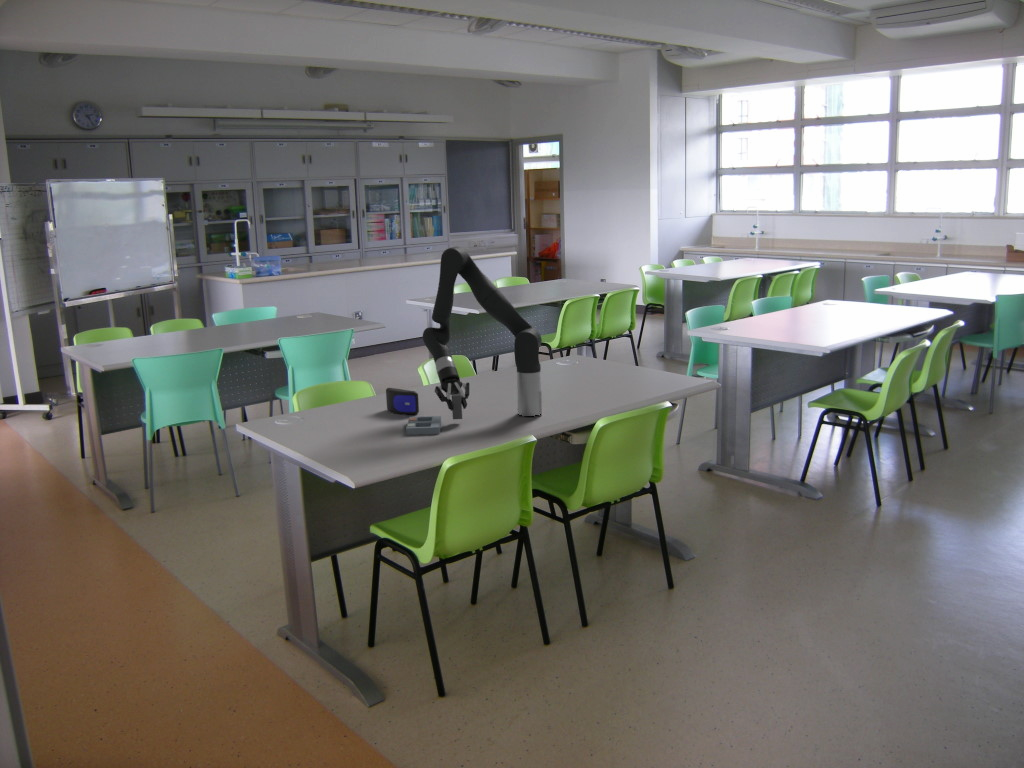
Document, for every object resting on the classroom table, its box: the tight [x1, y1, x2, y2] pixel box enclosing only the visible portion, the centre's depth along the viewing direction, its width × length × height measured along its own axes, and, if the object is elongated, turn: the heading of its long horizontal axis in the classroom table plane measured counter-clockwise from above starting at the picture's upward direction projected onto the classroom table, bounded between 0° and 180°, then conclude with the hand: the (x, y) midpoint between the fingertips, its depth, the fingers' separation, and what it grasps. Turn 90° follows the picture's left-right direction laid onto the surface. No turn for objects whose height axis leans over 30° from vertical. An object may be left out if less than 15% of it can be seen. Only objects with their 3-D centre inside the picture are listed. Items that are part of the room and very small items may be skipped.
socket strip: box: [405, 415, 442, 436], centre depth 311 cm, size 12×16×3 cm
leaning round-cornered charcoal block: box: [385, 387, 420, 416], centre depth 333 cm, size 16×5×9 cm, turn 56°
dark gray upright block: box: [450, 393, 463, 420], centre depth 315 cm, size 4×4×9 cm
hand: (458, 408), depth 313 cm, fingers closed on dark gray upright block, 4 cm apart
